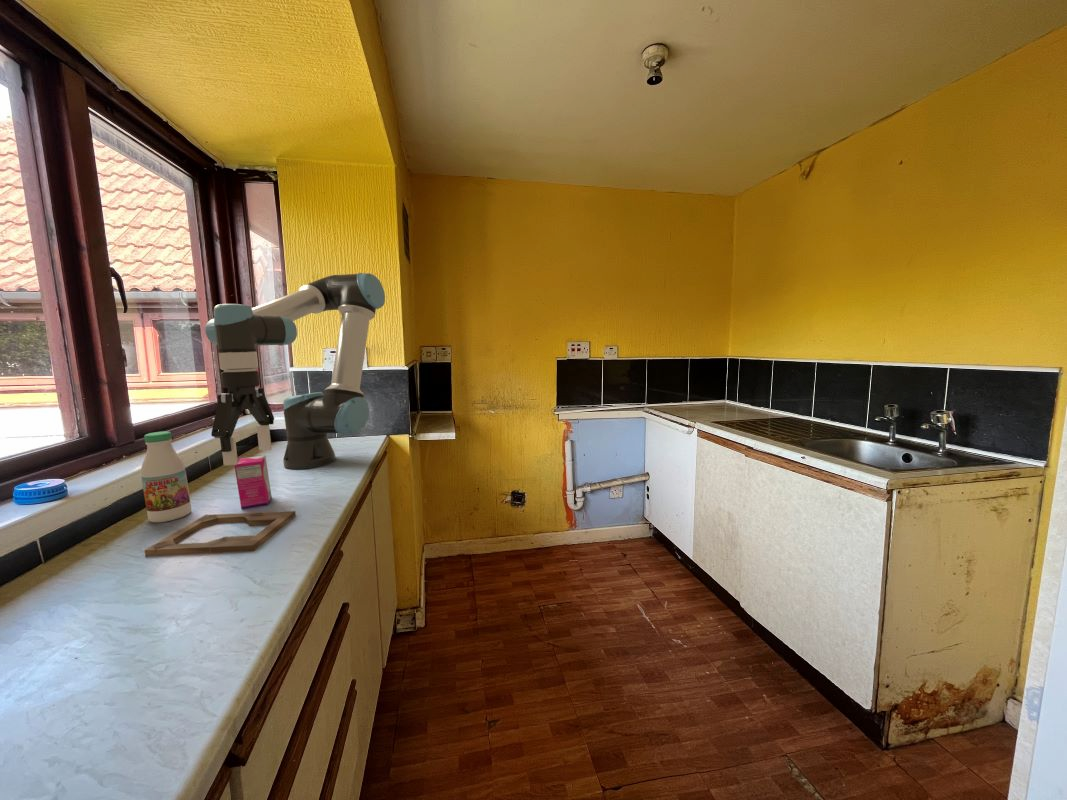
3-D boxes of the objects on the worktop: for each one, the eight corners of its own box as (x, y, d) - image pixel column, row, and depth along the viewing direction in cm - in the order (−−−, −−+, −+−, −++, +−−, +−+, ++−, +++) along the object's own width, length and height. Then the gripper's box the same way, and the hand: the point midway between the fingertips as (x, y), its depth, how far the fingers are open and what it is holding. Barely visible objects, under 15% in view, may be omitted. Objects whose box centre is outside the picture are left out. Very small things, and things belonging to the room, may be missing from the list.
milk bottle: (146, 517, 97) (132, 433, 94) (189, 507, 103) (177, 427, 100) (150, 526, 92) (135, 438, 89) (194, 515, 98) (182, 432, 95)
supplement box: (245, 501, 106) (239, 457, 104) (272, 497, 108) (267, 454, 106) (239, 509, 100) (233, 464, 99) (268, 505, 103) (262, 460, 101)
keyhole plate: (205, 519, 95) (205, 514, 95) (296, 515, 96) (295, 510, 96) (144, 556, 79) (143, 550, 79) (253, 551, 80) (252, 545, 80)
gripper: (255, 367, 111) (263, 445, 114) (182, 374, 87) (195, 472, 89) (284, 367, 112) (291, 444, 115) (220, 373, 87) (231, 471, 90)
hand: (249, 457), depth 102 cm, fingers open, 13 cm apart
